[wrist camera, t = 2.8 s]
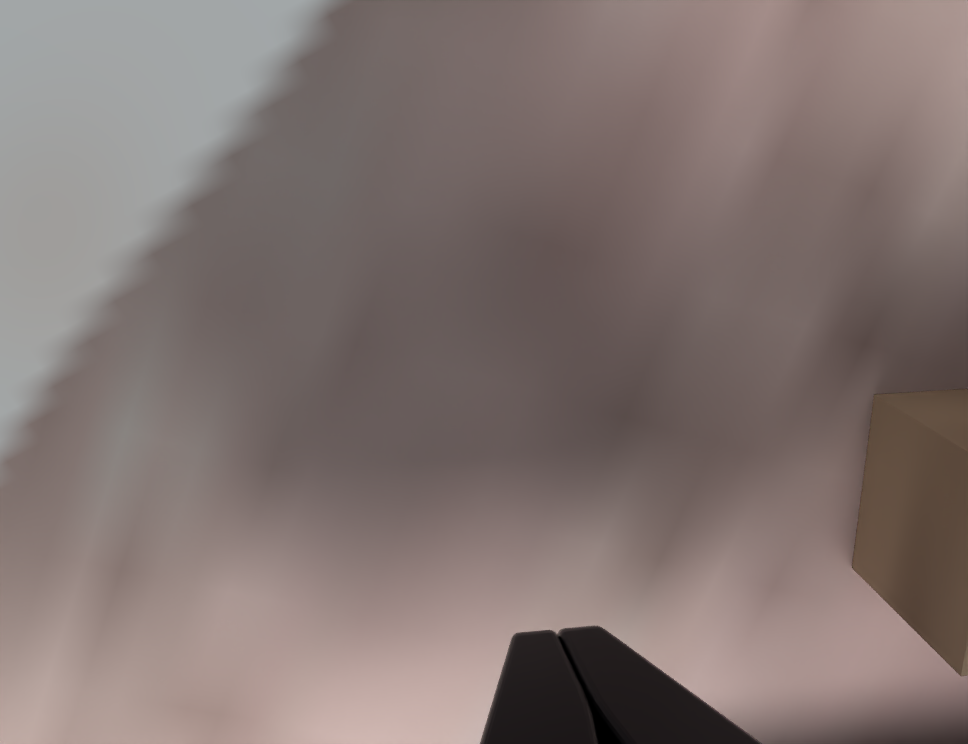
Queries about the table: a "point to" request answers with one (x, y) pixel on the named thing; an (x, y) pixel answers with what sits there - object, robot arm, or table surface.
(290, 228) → the table surface
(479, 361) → the table surface
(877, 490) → the block
